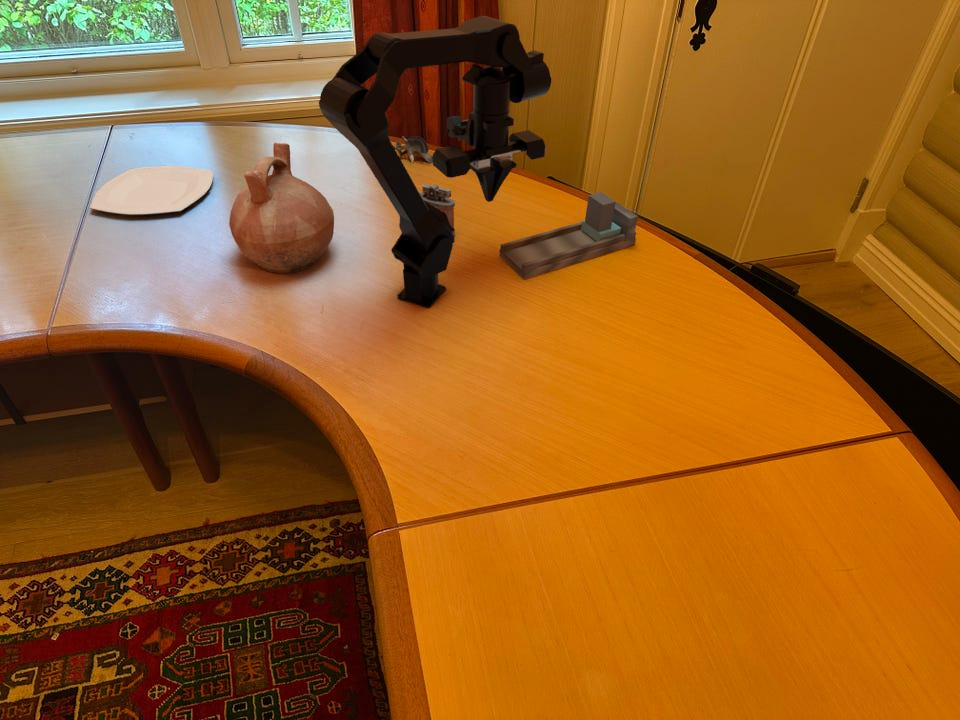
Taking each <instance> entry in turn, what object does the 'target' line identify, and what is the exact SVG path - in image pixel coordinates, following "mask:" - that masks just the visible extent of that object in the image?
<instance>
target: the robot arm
mask: <svg viewBox="0 0 960 720" xmlns="http://www.w3.org/2000/svg"><path fill="white" fill-rule="evenodd" d="M544 57H545V54H544V52H541V51H537V50H535V49H534V50H531V51H528V52H527V51H526V49H525V47H524V45H523V44H522V42H521V38H520V32H519V29H518V26H516V25H515V24H513V23H510V22H506V21H502V20H500V19H496V18H493V17H490V16H485V15H480V16H476V17H473V18H470V19H467V20H465V21H464V22H462V23H461V24H460V25H459V26H457V27H452V28H444V29H433V30H432V29H431V30H417V31H406V32H404V31H403V32H396V33H395V32H394V33H393V32H392V33H387V32H382V31H381V32H380V31H379V32H377V33H374V34H372V36H371V37H369V38H368V41H366V42H365V45H364V46H363V48H362V49H361V50H359V51H358V52H357V53H356V54H354V55H353V56H352V57H351V58H350V59H348V60H347V61H345V62H344V63H343V64H342V65H341V66H340V67H339V69H338V71H337V72H336V74H335V75H334V77H333V78H332V79H331V80H328V81H327V83H326V84H325V85H324V87H323V88H322V90H321V93H320V96H319V97H320V98H319V101H318V106H319V110H320V112H321V114H322V115H323V117H324V118H325V119H326V120H327V121H328V122H329V123H330V124H331V125H332V127H334V128H335V129H336V130H337V132H339V133H340V134H341V135H342V136H343V137H344V138H345V139H346V140H348V142H350V143H351V144H352V145H353V147H355V148H356V149H357V150H358V152H359V153H360V155H361V157H362V158H363V160H364V161H365V163H366V165H367V166H368V168H369V170H370V171H371V172H372V174H373V176H374V177H375V178H376V180H377V183H378V184H379V185H380V187H381V188H382V190H383V191H384V193H385V194H386V197H387V198H388V199H389V201H390V203H391V204H392V206H393V208H394V210H395V211H396V212H397V214H398V216H399V225H398V227H399V230H400V232H401V234H400V235H399V237H398V238H397V240H396V241H395V243H394V245H393V246H392V248H391V253H392V255H393V257H394V258H395V259H396V260H398V261H399V262H401V263H402V264H403V270H402V276H403V277H402V279H403V287H404V288H403V289H402V290H401V291H400V292H399V293H398V294H397V295H396V296H397V299H399V300H401V301H405V302H408V303H411V304H414V305H416V306H417V305H418V306H421V307H424V308H427V309H429V308H431V307H432V305H434V304H435V302H436V301H438V300H439V298H440V297H441V296H442V295H443V294H444V293H445V291H447V287H446V286H445V285H443V284H439V274H440V273H442V272H444V271H446V270H447V269H448V264H449V262H450V257H451V254H452V250H453V247H454V243H455V242H456V241H455V237H454V235H453V233H452V232H453V231H455V232H456V229H455V227H454V228H453V227H451V225H450V223H449V220H448V217H447V215H446V214H445V213H444V212H443V211H441V210H439V209H438V208H436V207H434V206H433V205H431V204H429V203H428V202H426V201H424V200H423V199H422V197H421V195H420V193H421V192H419V189H418V188H417V186H416V185H415V183H414V181H413V179H412V177H411V176H410V174H409V172H408V170H407V169H406V167H405V165H404V163H403V162H402V160H401V159H402V158H400V155H399V153H398V151H397V150H396V149H394V147H393V144H392V142H391V140H390V136H389V134H390V130H389V129H390V127H389V126H390V122H389V119H388V117H387V113H386V112H387V111H388V110H389V108H390V107H391V105H392V103H393V102H394V100H395V98H396V94H397V90H398V86H399V81H400V78H401V76H402V75H403V73H404V71H406V70H408V69H416V68H417V69H418V68H425V67H433V66H440V65H449V64H451V65H452V64H458V63H467V62H469V63H474V64H472V65H471V66H470V68H469V69H468V70H467V71H466V72H465V73H464V74H463V76H462V81H463V82H465V83H468V84H470V85H473V111H469V114H468V119H464V120H463V119H462V117H461V115H454V116H448V117H447V118H446V131H447V135H448V137H449V138H457V140H458V142H461V141H465V145H467V146H469V147H471V146H472V149H469V150H464V151H463V150H462V149H461V148H459V146H457V145H455V144H453V145H447V146H442V147H438V148H436V149H435V150H434V151H433V154H432V157H433V162H432V165H433V167H434V168H436V169H437V170H438V171H440V172H441V174H443V176H445V177H446V178H449V179H450V178H451V179H452V178H453V179H454V178H455V177H460V176H465V175H467V174H468V173H469V171H473V173H475V175H476V177H477V180H478V182H479V185H480V188H481V190H482V191H481V192H482V193H483V196H484V199H485V201H486V202H487V203H490V202H493V201H494V199H495V197H496V195H497V194H498V192H499V190H500V188H501V186H502V185H503V183H504V181H505V180H506V178H507V177H508V176H509V174H510V172H511V171H512V170H513V169H515V168H517V163H516V162H514V160H513V155H514V154H518V153H523V152H526V153H525V155H526V156H527V158H529V160H537V159H540V158H541V159H542V158H545V157H546V151H547V144H546V142H545V139H543V138H542V137H540V136H539V135H537V134H536V133H534V132H533V131H531V130H529V129H528V130H523V131H518V132H513V133H509V131H510V127H512V126H514V122H515V119H514V118H513V117H512V116H510V115H511V114H510V113H511V108H510V107H511V103H514V104H519V103H523V102H525V101H529V100H533V99H536V98H539V97H542V96H546V95H547V93H548V92H549V90H550V89H551V85H552V77H551V73H550V70H549V67H548V65H547V63H546V62H545V61H544ZM477 64H480V65H484V66H485V67H483V66H480V65H477ZM374 75H375V79H374V81H373V83H371V86H370V87H369V88H367V87H364V86H363V85H362V84H364V83H366V81H367V80H369V79H371V77H373V76H374ZM509 134H510V135H509Z"/></svg>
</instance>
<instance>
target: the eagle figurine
mask: <svg viewBox="0 0 960 720" xmlns="http://www.w3.org/2000/svg"><path fill="white" fill-rule="evenodd" d="M401 138H403V140H404V141H405V145H402V143H401V142H400V141H398V140H397V142H396V143H395V145H393V144H392V145H393V147H394V149H395V151H396V152H397V154H398V155H399V158H400V157H402V158H403V157H404V155H406V154H407V155H408V158H409V159H410V164H411V163H412V164H413V163H414V161H415V158H414V157H415V155H418V156H420V157H422V158H423V159H424V160H425V161H426V162H427V163H428V164H433V155H432V154H430V153H429V151H430V149H429V145H428V143H427V142H426V140H425V139H424V138H423V137H421V136H416V135H410V136H409V137H408V138H407V139H406V138H405V137H404V136H403V135H402V136H401ZM402 150H404V151H402Z"/></svg>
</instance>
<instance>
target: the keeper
mask: <svg viewBox="0 0 960 720" xmlns="http://www.w3.org/2000/svg"><path fill="white" fill-rule="evenodd" d="M616 202H617V201H616V200H614V199H613V200H612V198H611V197H610V198H609V196H608V195H606V194H604V193H603V192H601V191H600V192H597V193H593V194H588V198H587V205H586V211H585V218H584V220H581V222H582V226H581V230H582V231H584V232H585V233H586V234H588V235H589V236H590V237H592V238H593V239H594V240H596V241H600V240H604V239H607V238H610V237H614V236H617V235H620V233H621V227H619V226H618V225H616V224H615V223H613V222H612V219H613V214H614V209H615V203H616Z"/></svg>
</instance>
